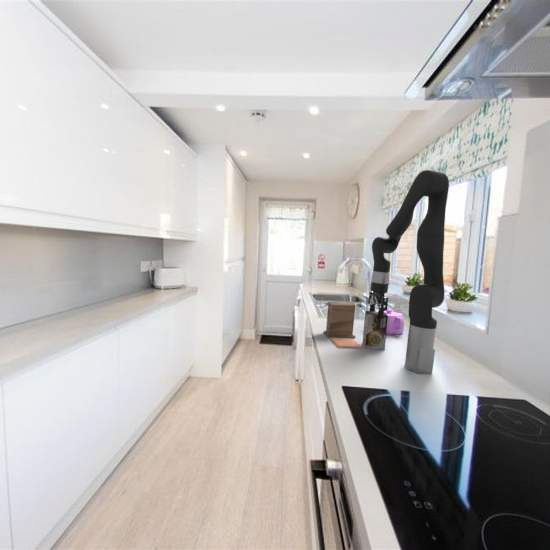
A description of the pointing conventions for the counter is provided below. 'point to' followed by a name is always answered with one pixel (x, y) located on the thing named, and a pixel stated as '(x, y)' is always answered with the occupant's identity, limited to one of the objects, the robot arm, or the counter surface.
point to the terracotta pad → (346, 343)
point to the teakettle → (394, 323)
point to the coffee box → (374, 330)
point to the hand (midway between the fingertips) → (375, 316)
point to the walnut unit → (340, 320)
